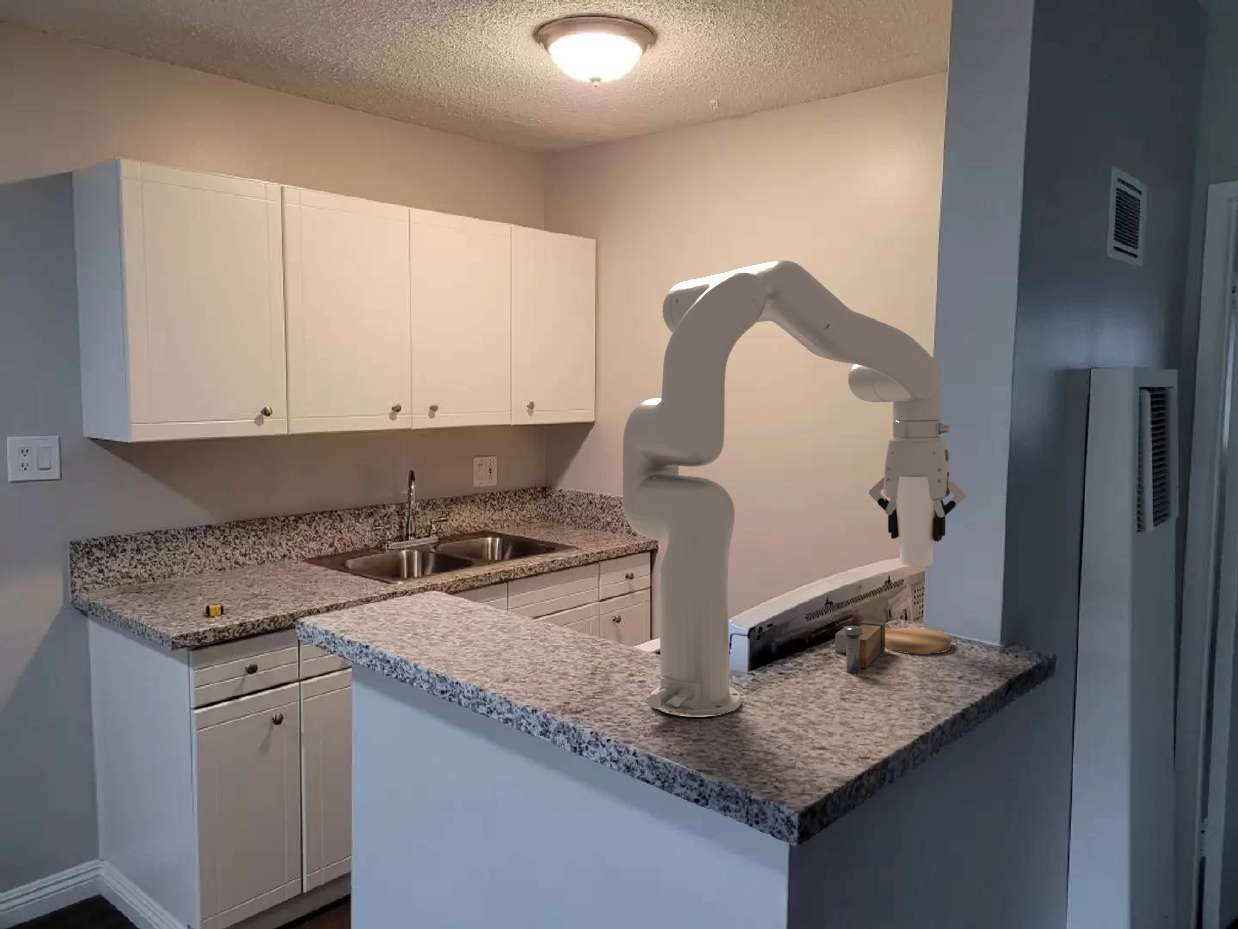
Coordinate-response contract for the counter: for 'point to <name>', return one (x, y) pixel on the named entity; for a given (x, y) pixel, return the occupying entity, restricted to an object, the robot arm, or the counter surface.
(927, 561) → the drinking glass
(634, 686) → the counter surface
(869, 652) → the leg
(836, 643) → the stop block
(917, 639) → the wooden coaster
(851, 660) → the pivot pin
